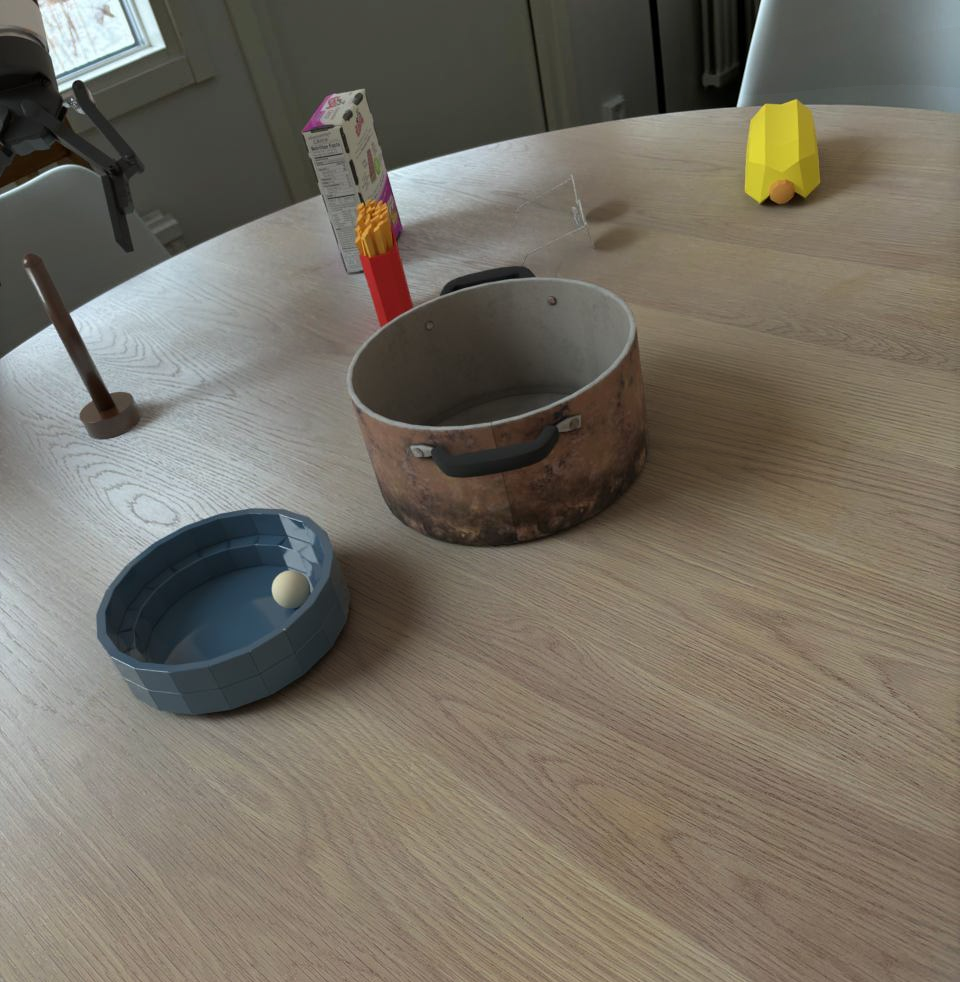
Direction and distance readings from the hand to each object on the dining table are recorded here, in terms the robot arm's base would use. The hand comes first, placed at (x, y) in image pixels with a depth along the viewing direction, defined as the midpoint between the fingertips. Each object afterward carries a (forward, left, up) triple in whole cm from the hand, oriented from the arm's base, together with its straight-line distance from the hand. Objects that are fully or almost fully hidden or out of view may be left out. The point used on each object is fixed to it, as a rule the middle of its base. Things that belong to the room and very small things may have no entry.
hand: (57, 264), depth 101 cm
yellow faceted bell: (+76, -2, -15) cm, 77 cm away
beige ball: (+12, -46, -12) cm, 49 cm away
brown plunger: (-1, -6, -15) cm, 16 cm away
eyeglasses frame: (+50, +2, -15) cm, 52 cm away
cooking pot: (+32, -37, -15) cm, 51 cm away
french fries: (+30, -5, -15) cm, 34 cm away
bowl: (+7, -46, -15) cm, 48 cm away
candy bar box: (+32, +15, -15) cm, 38 cm away
